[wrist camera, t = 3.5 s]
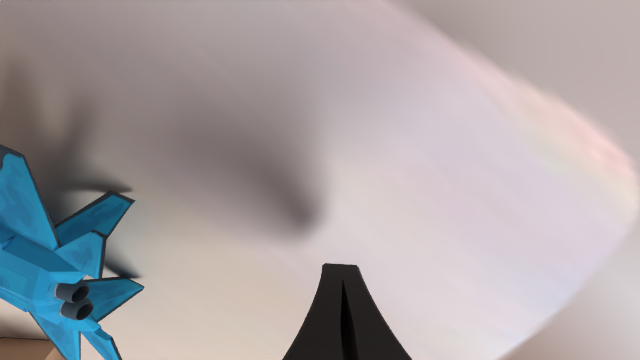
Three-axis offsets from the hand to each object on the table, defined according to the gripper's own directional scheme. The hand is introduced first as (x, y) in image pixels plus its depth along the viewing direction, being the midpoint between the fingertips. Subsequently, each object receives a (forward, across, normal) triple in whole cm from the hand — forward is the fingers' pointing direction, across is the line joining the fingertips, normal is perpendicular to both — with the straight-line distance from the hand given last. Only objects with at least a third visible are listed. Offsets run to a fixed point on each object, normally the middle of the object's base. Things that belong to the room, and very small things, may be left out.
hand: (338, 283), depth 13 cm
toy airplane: (+3, +12, 0) cm, 13 cm away
